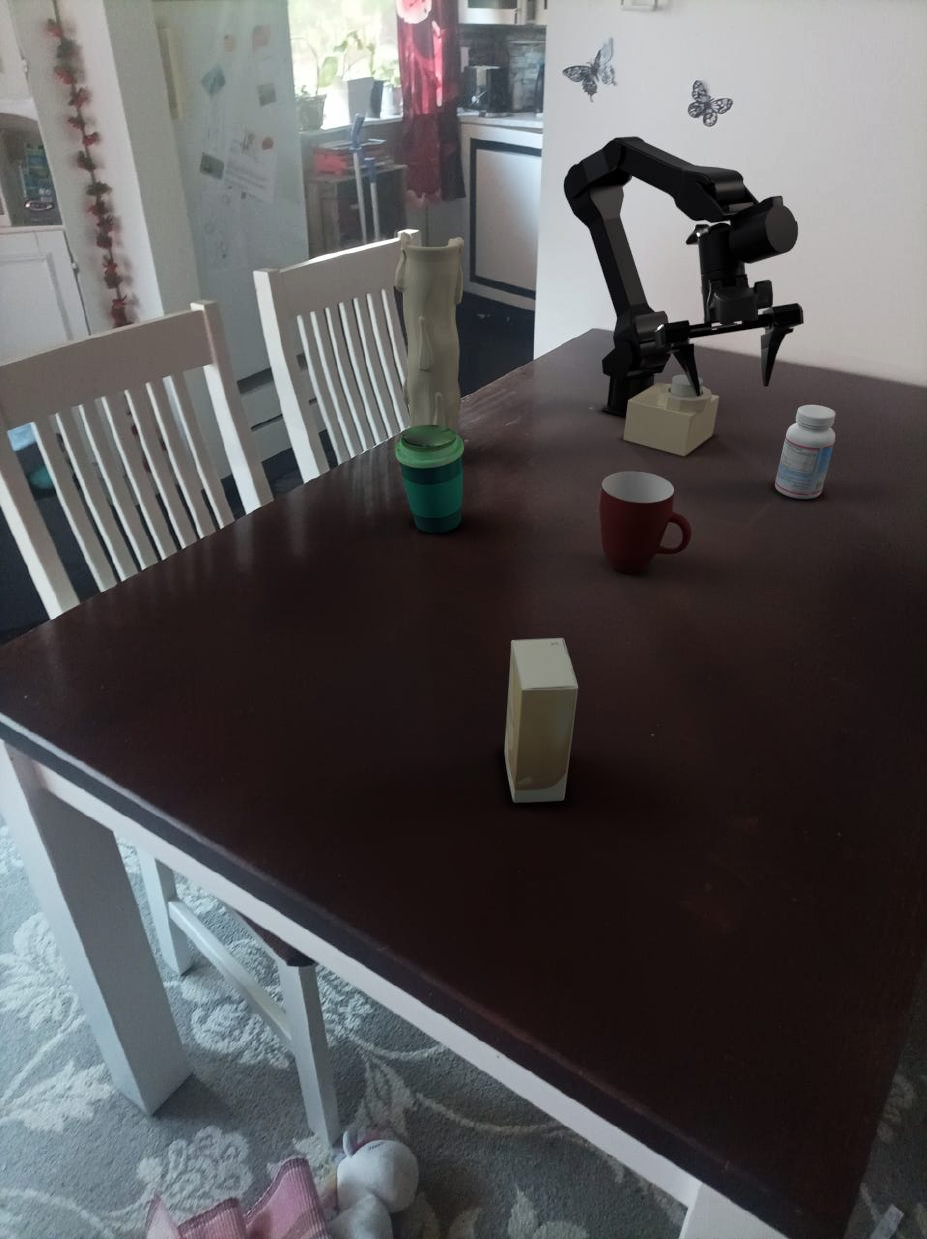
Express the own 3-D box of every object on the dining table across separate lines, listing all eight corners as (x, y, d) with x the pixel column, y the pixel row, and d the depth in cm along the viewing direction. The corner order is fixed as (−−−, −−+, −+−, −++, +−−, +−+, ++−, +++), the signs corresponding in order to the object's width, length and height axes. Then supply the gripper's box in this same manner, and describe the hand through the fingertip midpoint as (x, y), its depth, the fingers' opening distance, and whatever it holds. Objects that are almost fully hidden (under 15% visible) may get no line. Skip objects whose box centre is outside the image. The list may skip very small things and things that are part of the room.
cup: (475, 532, 107) (477, 440, 100) (416, 547, 104) (414, 454, 97) (444, 505, 113) (444, 417, 106) (387, 519, 109) (383, 429, 103)
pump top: (664, 394, 126) (666, 380, 124) (677, 386, 129) (680, 372, 127) (692, 401, 124) (695, 386, 122) (705, 393, 126) (708, 378, 125)
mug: (685, 555, 103) (699, 477, 97) (682, 590, 96) (697, 510, 91) (596, 543, 105) (604, 467, 99) (587, 577, 98) (596, 498, 93)
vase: (394, 461, 124) (385, 235, 107) (419, 439, 130) (414, 223, 113) (449, 471, 121) (449, 241, 104) (472, 448, 128) (475, 228, 111)
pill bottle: (804, 479, 120) (824, 400, 114) (829, 498, 116) (852, 417, 109) (765, 483, 119) (783, 404, 113) (789, 503, 114) (809, 421, 108)
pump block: (623, 439, 131) (629, 388, 127) (653, 420, 138) (660, 370, 133) (688, 457, 126) (697, 404, 121) (716, 436, 133) (726, 385, 128)
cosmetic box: (503, 751, 75) (508, 636, 68) (552, 749, 75) (563, 634, 68) (512, 807, 70) (520, 688, 63) (566, 804, 70) (579, 685, 63)
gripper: (662, 273, 109) (673, 399, 113) (814, 249, 108) (821, 378, 111) (649, 287, 120) (660, 402, 123) (786, 265, 119) (794, 382, 122)
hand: (731, 391), depth 120 cm, fingers open, 9 cm apart
